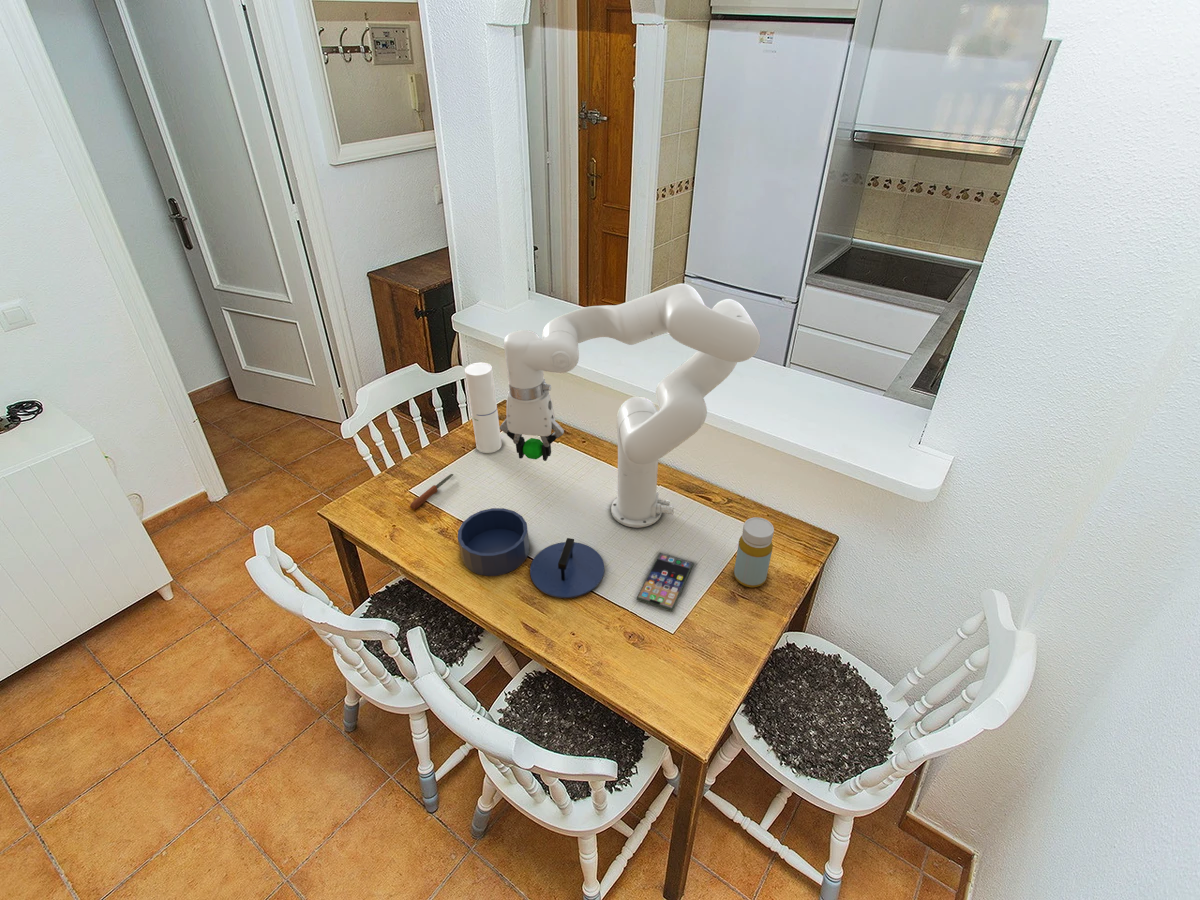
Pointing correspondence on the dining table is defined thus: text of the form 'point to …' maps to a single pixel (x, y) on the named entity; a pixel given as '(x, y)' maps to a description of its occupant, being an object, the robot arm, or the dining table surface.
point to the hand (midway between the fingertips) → (534, 455)
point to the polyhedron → (533, 448)
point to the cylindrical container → (483, 406)
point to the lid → (567, 569)
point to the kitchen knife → (428, 493)
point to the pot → (493, 541)
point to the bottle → (754, 552)
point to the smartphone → (665, 581)
